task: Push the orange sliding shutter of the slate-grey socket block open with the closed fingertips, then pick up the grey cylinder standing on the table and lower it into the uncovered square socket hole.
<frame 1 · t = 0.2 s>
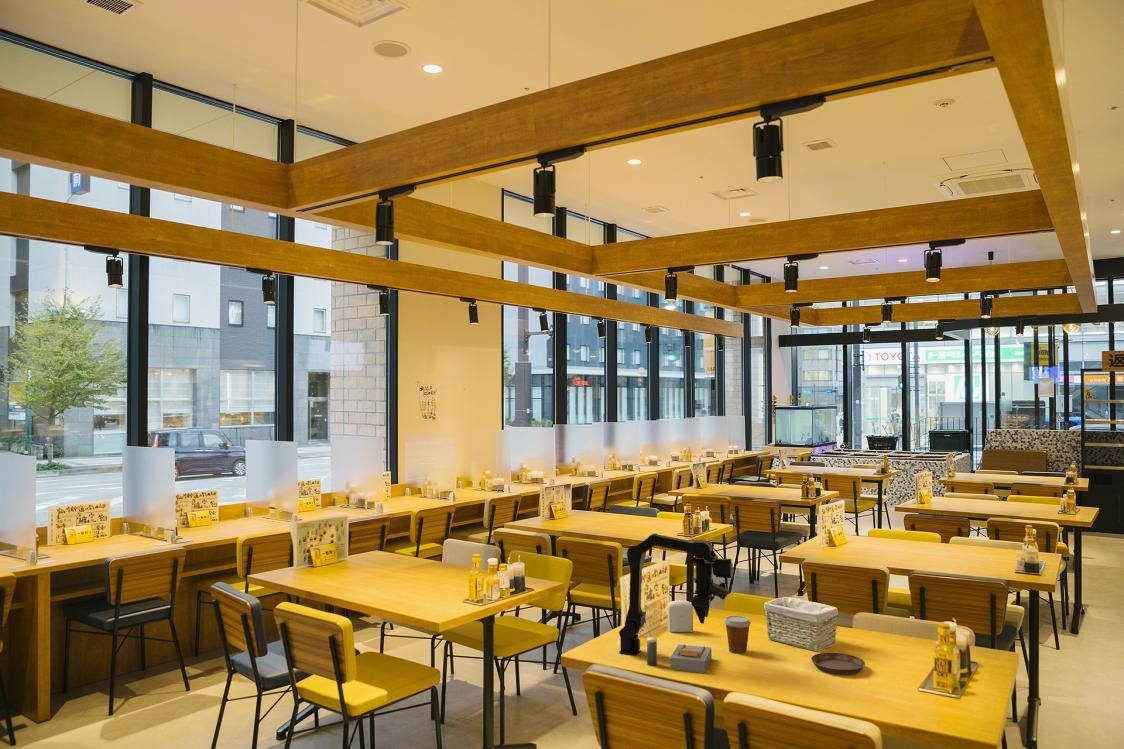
hand: (704, 620, 270), 14 cm above the table, fingers open, 9 cm apart
socket: (691, 663, 266), on the table
plant saucer: (837, 669, 261), on the table
storage basket: (801, 643, 291), on the table
shutter: (690, 650, 264), point 5 cm above the table, slide at 0.0 cm
grey cylinder: (652, 664, 265), on the table
photo printer: (680, 631, 306), on the table
disposable coffee cup: (737, 651, 280), on the table
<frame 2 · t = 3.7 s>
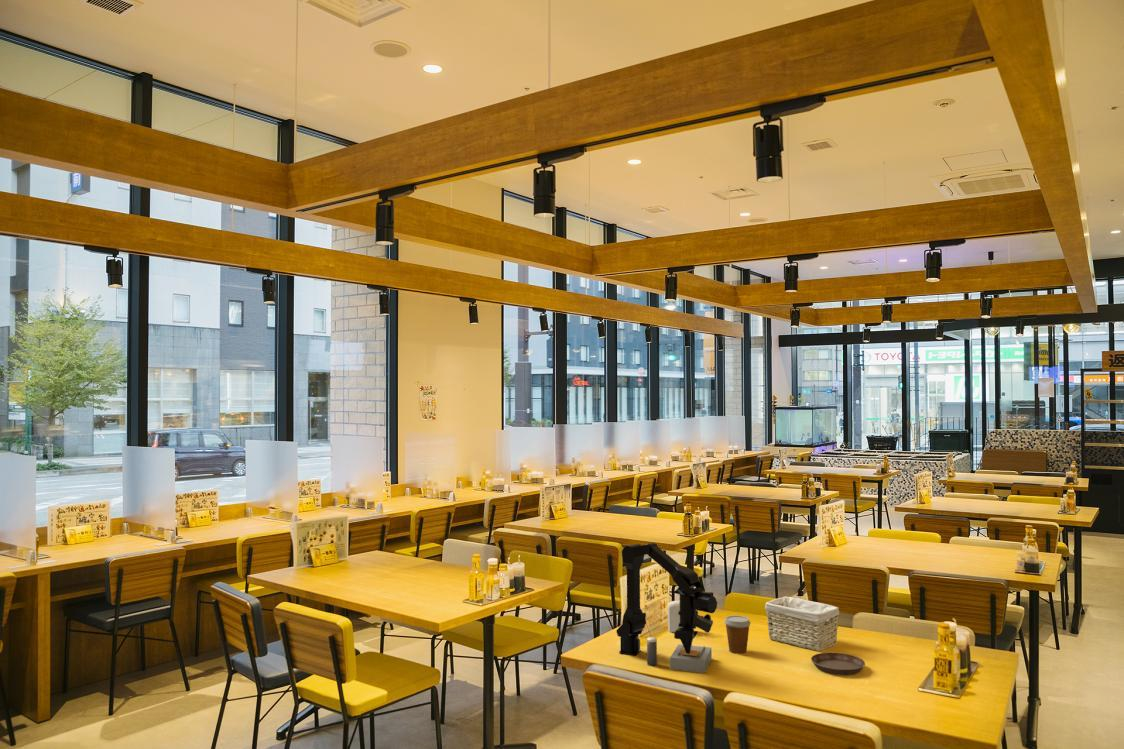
hand: (688, 653, 261), 5 cm above the table, fingers closed
shutter: (690, 650, 265), point 5 cm above the table, slide at 0.7 cm, touching gripper
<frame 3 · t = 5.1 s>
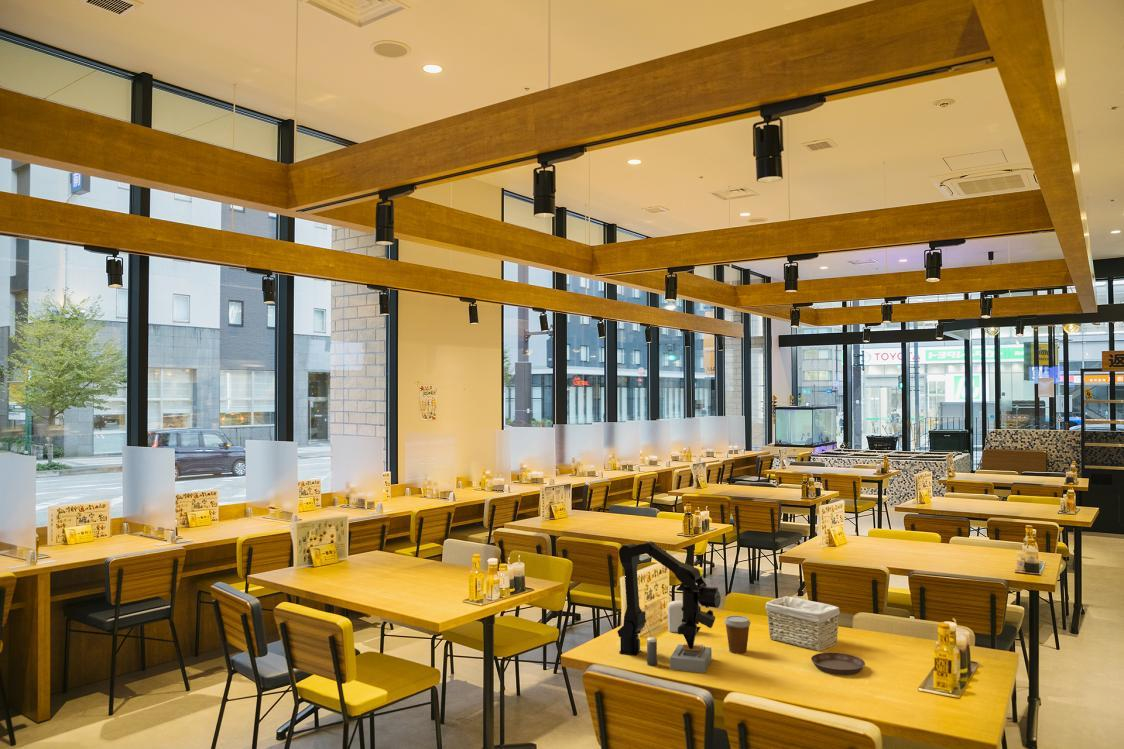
hand: (691, 648, 267), 5 cm above the table, fingers closed
shutter: (693, 645, 270), point 5 cm above the table, slide at 6.3 cm, touching gripper
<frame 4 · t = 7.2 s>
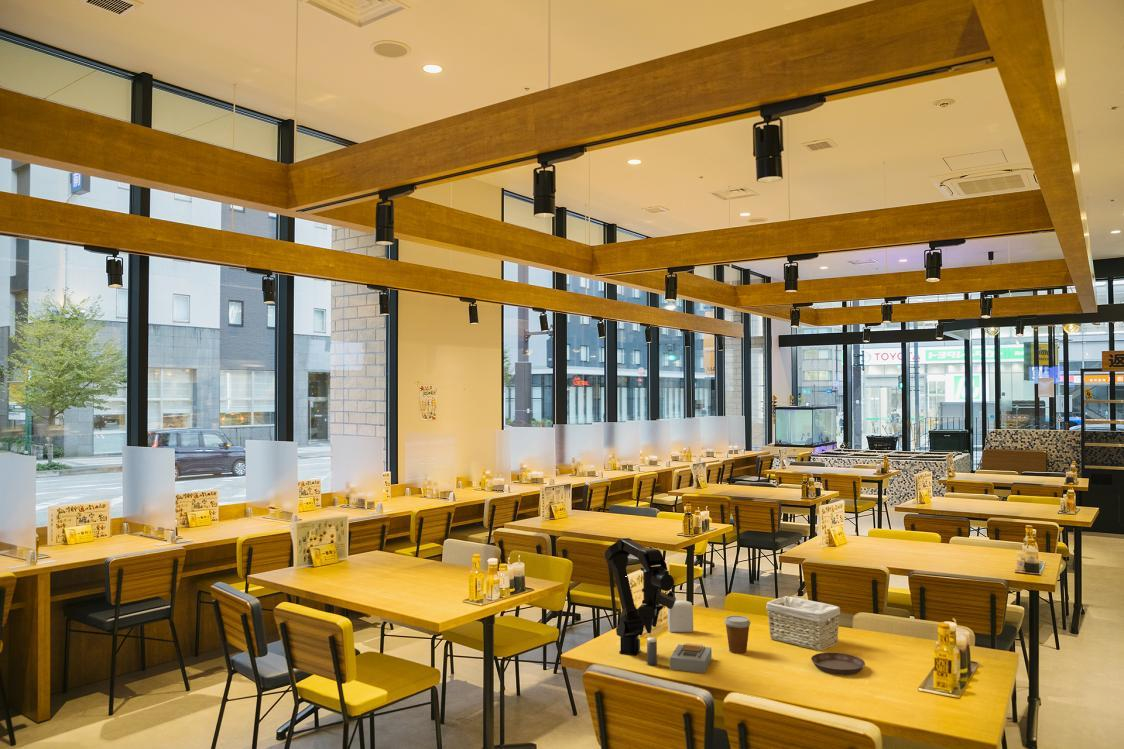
hand: (651, 629, 266), 12 cm above the table, fingers open, 8 cm apart
shutter: (693, 645, 270), point 5 cm above the table, slide at 6.3 cm
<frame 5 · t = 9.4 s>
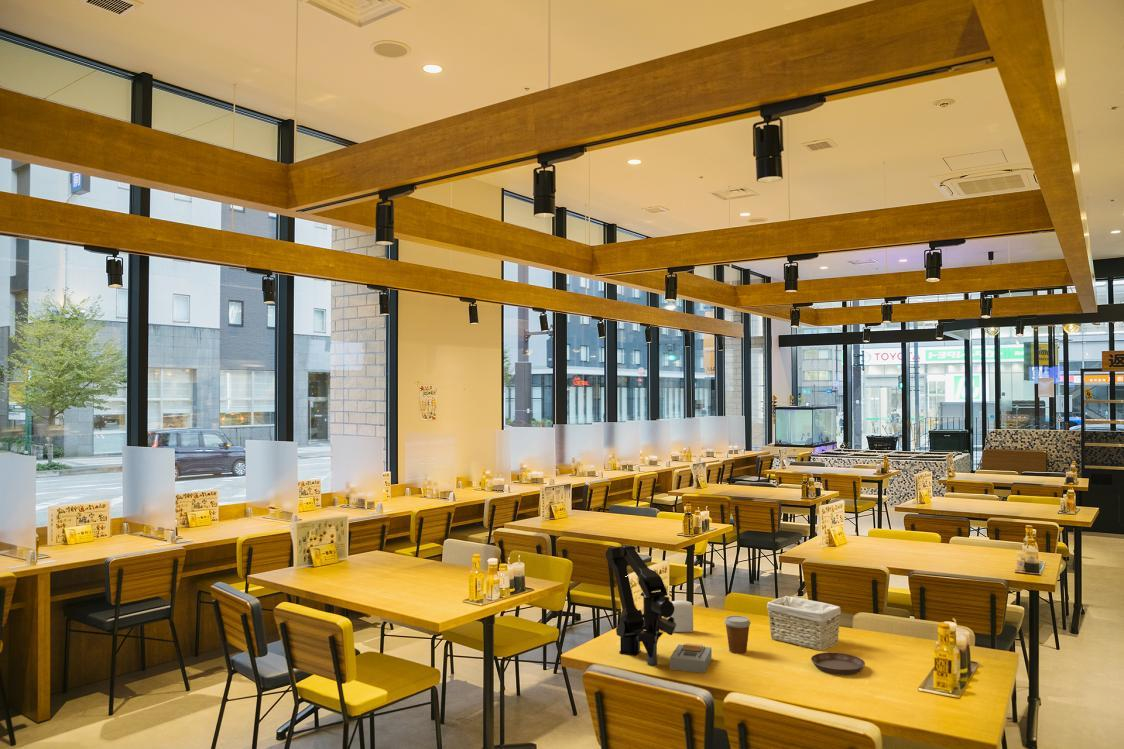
hand: (652, 655, 266), 3 cm above the table, fingers closed on grey cylinder, 3 cm apart
grey cylinder: (652, 664, 265), on the table, touching gripper
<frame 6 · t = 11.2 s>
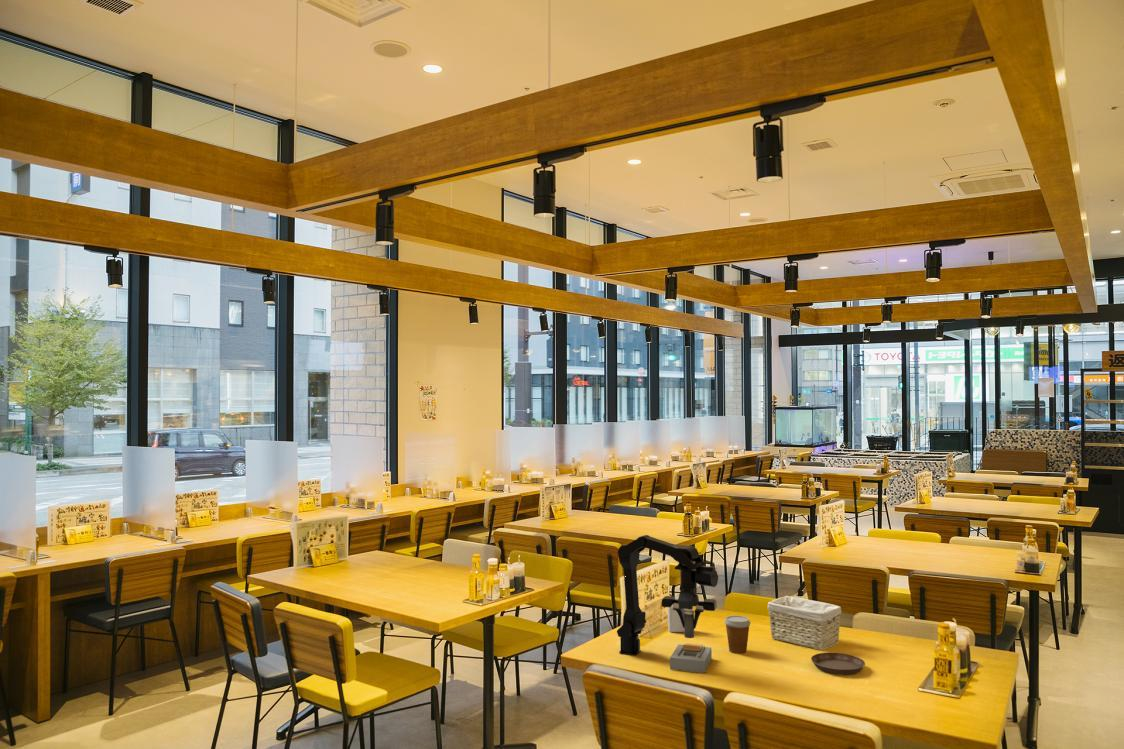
hand: (689, 628, 265), 13 cm above the table, fingers closed on grey cylinder, 3 cm apart
grey cylinder: (689, 636, 264), point 10 cm above the table, touching gripper
when the fingers open (5 cm above the table, at t = 13.4 s): grey cylinder drops 2 cm, resting in socket.
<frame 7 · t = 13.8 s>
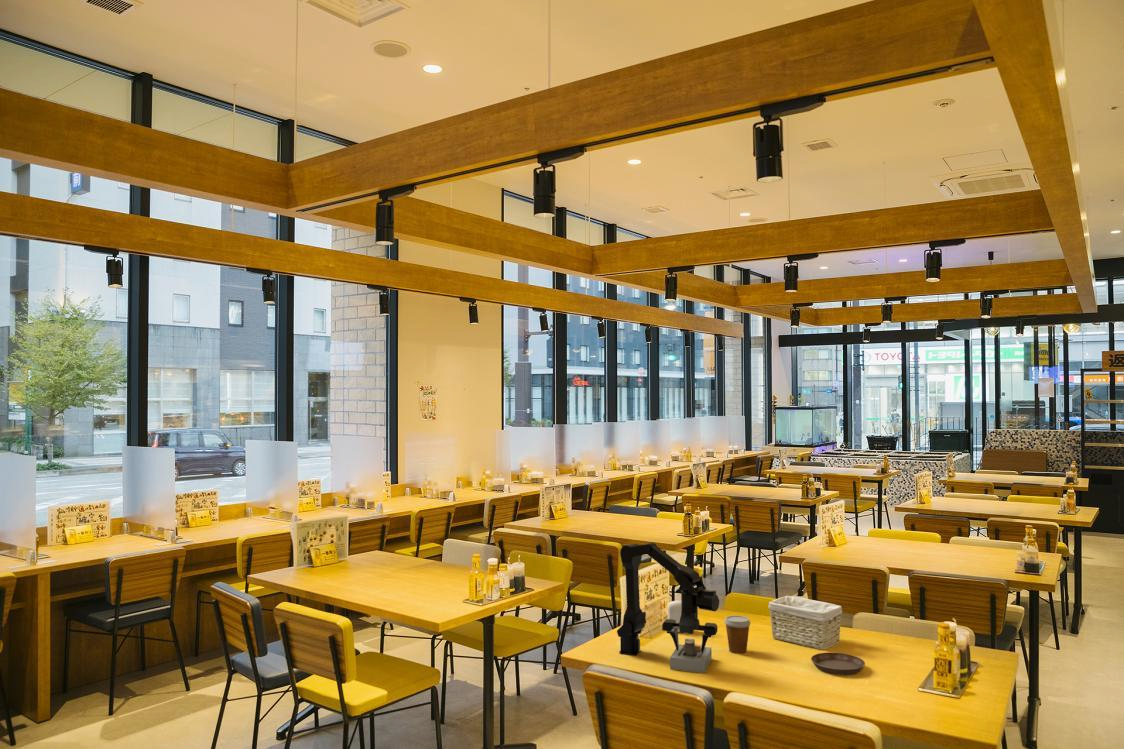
hand: (690, 651, 264), 5 cm above the table, fingers open, 8 cm apart
grey cylinder: (690, 665, 264), resting in socket
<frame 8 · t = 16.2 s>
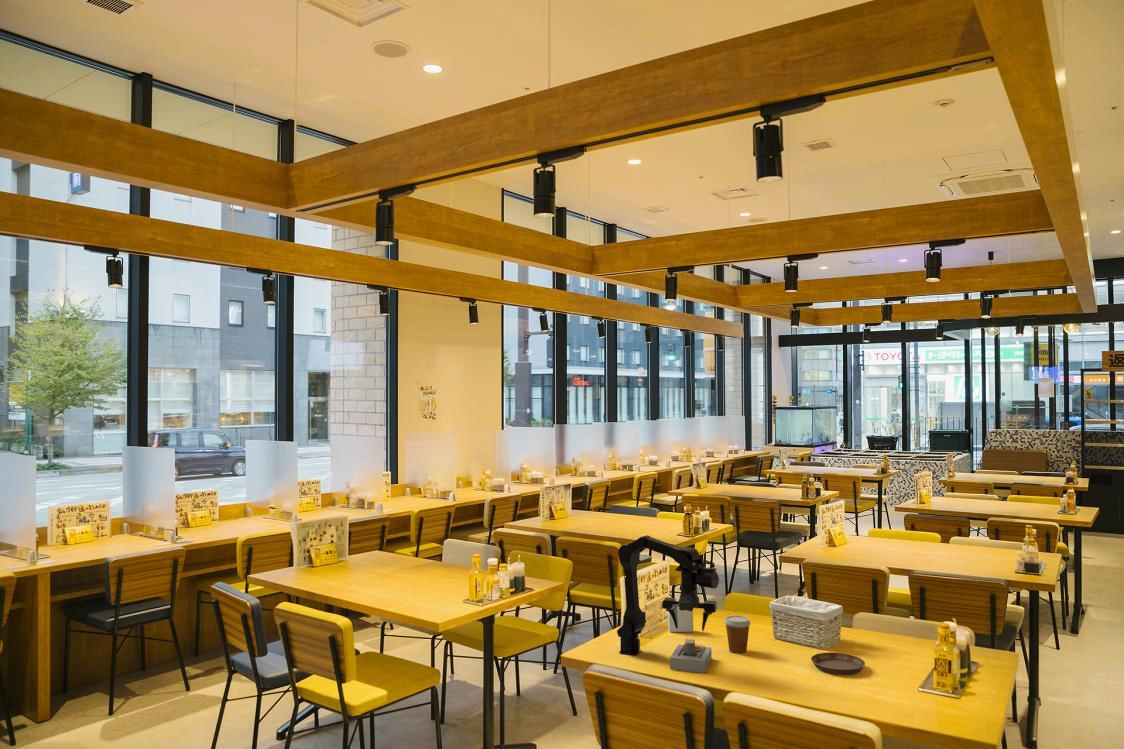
hand: (689, 629, 265), 12 cm above the table, fingers open, 9 cm apart
at the end: grey cylinder 0.1 cm from the target spot on the socket, point 0.0 cm above the socket's base; shutter slide at 6.3 cm; grey cylinder tilted 0° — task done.
